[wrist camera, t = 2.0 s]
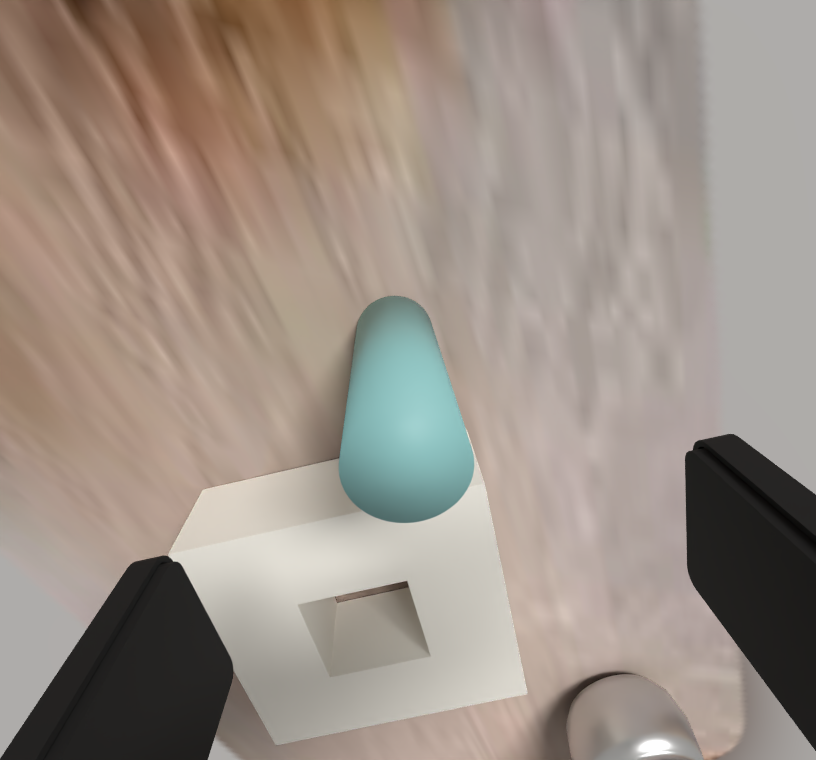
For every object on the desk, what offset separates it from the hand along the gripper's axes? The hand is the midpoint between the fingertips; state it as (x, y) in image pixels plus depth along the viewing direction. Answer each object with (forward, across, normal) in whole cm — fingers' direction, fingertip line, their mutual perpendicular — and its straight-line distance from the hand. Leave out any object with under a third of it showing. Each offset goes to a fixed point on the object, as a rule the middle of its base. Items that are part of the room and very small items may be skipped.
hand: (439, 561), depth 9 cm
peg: (+12, 0, -1) cm, 12 cm away
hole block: (+12, +4, +10) cm, 16 cm away
